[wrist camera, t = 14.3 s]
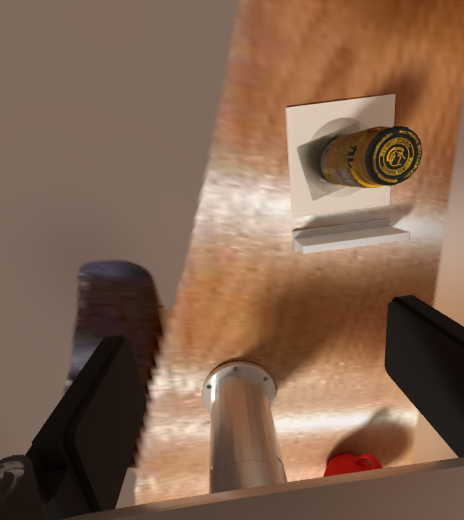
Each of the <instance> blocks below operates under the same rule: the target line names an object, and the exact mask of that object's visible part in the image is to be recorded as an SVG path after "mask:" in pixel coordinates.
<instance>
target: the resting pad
mask: <svg viewBox="0 0 464 520" xmlns="http://www.w3.org/2000/svg"><path fill="white" fill-rule="evenodd" d="M285 109H286V127H287V145H288V163H289V180H290V198H291V216H292V218H296V217H303V216H311V215H318V214H326V213H333V212H341V211H349V210H356V209H364V208H371V207H379V206H386V205H390V189H391V185H390V186H382V187H378V188H361V187H349V186H347V187H345V188H343V189H340V190H338V191H336V192H333V193H331V194H328V195H326V196H324V197H321V198H319V199H317V200H314V201H313V200H312V197H311V194H310V191H309V188H308V185H307V182H306V178H305V175H304V172H303V169H302V165H301V162H300V159H299V155H298V152H297V148H299V147H302V146H304V145H306V144H308V143H311V142H313V141H315V140H318V139H320V138H322V137H325V136H327V135H329V134H331V133H334V132H336V131H338V130H341V129H343V128H345V127H348V126H350V125H352V124H355V123H357V122H358V123H359V126H360V131H363V130H366V129H369V128H373V127H379V126H385V127H394V113H395V94H390V95H382V96H374V97H367V98H359V99H351V100H343V101H335V102H327V103H319V104H311V105H303V106H295V107H287V108H285ZM321 181H322V180H321ZM324 181H325V180H324Z"/></svg>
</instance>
